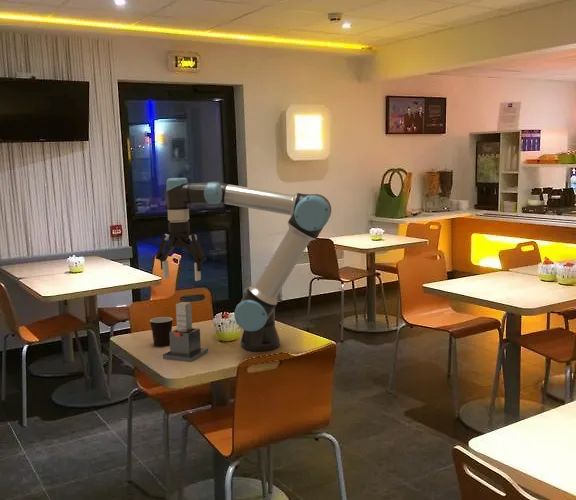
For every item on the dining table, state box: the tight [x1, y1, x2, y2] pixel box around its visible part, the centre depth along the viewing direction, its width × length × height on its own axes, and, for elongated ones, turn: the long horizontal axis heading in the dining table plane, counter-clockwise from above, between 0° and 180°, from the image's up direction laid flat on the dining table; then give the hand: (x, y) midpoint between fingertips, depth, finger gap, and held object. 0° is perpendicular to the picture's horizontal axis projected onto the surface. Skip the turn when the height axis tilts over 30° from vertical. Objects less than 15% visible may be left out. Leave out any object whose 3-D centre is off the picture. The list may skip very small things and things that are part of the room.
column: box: [175, 301, 193, 333], centre depth 227 cm, size 4×4×18 cm
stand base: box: [162, 327, 209, 363], centre depth 228 cm, size 12×12×10 cm
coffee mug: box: [149, 316, 173, 348], centre depth 244 cm, size 12×9×10 cm
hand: (181, 279), depth 225 cm, fingers open, 13 cm apart
